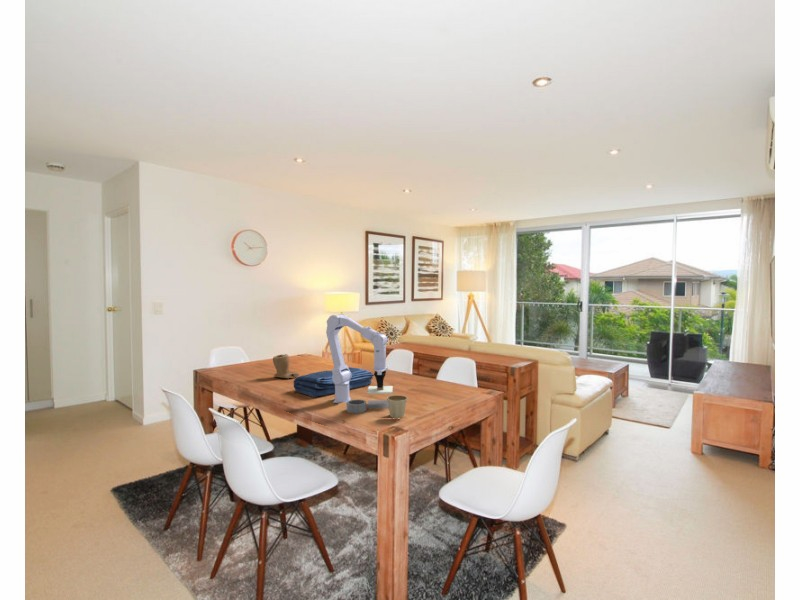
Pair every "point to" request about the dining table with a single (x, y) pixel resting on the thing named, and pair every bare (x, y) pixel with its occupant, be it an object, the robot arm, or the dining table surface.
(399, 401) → the flower pot
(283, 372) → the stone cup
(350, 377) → the robot arm
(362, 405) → the bowl
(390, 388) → the lid
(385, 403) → the mat
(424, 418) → the dining table surface
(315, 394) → the towel
